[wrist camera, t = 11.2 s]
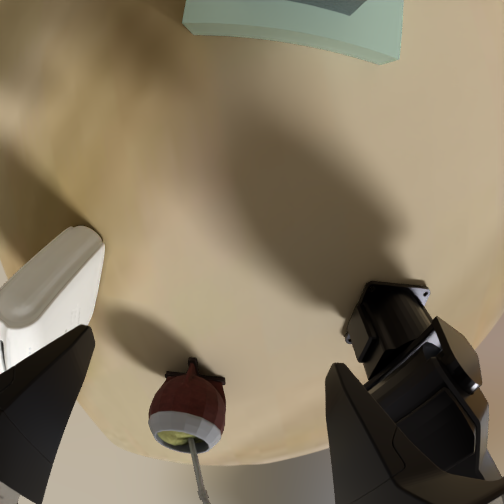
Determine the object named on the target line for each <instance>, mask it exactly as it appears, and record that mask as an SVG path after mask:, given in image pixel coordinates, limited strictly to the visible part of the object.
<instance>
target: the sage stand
mask: <svg viewBox="0 0 504 504" xmlns="http://www.w3.org/2000/svg"><path fill="white" fill-rule="evenodd" d="M402 22H403V0H367V1H366V2H364V3H363V4H362V5H361V6H360V7H359V8H358V9H357V10H356V11H355V12H354V13H353V14H352V15H351V16H348V15H345V14H342V13H338V12H335V11H331V10H327V9H323V8H319V7H315V6H311V5H307V4H302V3H297V2H292V1H287V0H186V4H185V9H184V15H183V20H182V24H183V25H184V26H185V27H186V28H187V29H188V30H189V31H190V32H191V33H192V34H193V35H213V36H233V37H246V38H256V39H265V40H272V41H280V42H286V43H292V44H298V45H304V46H309V47H314V48H319V49H323V50H328V51H332V52H336V53H340V54H344V55H348V56H351V57H355V58H359V59H362V60H365V61H369V62H372V63H375V64H378V65H382V64H385V63H389V62H392V61H396V60H399V58H400V48H401V37H402Z"/></svg>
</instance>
